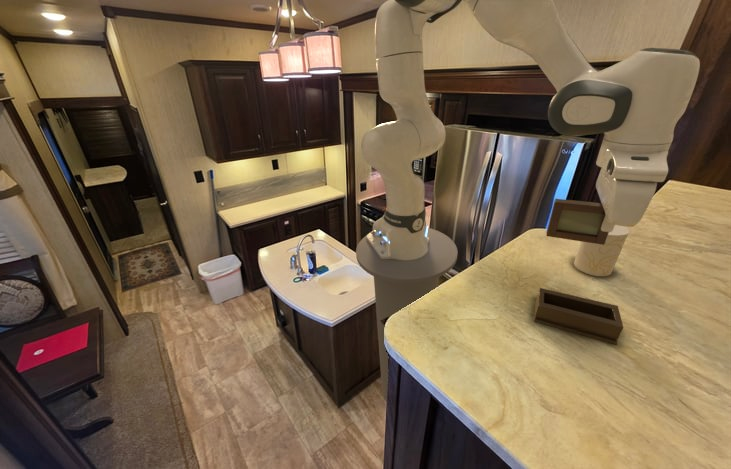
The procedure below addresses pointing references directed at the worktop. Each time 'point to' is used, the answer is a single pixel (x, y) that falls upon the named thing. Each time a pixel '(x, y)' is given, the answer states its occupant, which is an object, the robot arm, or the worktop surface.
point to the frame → (577, 221)
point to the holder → (578, 315)
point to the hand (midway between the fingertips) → (604, 226)
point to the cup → (601, 253)
